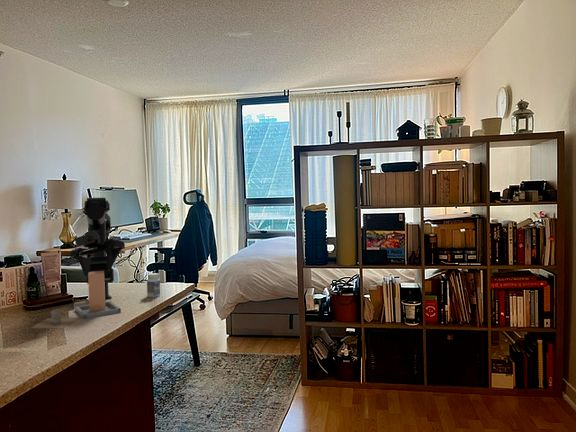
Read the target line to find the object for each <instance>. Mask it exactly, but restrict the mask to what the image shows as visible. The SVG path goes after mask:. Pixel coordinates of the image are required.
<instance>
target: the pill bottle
mask: <svg viewBox="0 0 576 432" xmlns="http://www.w3.org/2000/svg"><path fill="white" fill-rule="evenodd" d="M159 276H160V273H158V272H157V273H156V272H154V273H153V272H151V273H147V279H146V292H147V297H149V298H156V297H159V296H161V279H160V277H159Z"/></svg>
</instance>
